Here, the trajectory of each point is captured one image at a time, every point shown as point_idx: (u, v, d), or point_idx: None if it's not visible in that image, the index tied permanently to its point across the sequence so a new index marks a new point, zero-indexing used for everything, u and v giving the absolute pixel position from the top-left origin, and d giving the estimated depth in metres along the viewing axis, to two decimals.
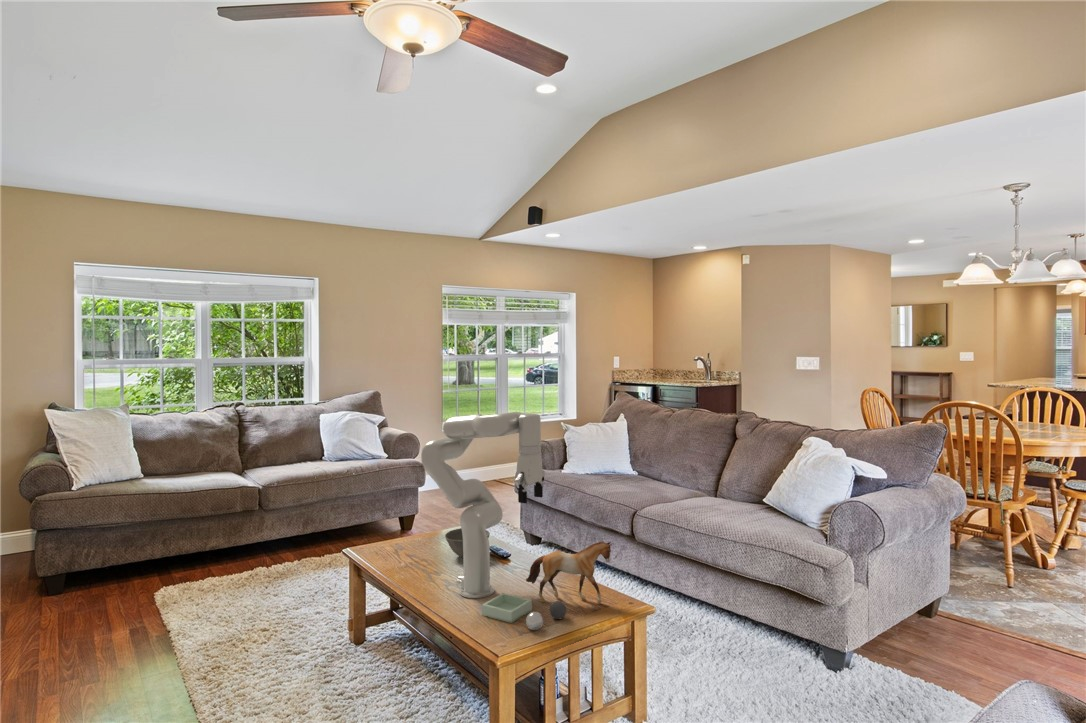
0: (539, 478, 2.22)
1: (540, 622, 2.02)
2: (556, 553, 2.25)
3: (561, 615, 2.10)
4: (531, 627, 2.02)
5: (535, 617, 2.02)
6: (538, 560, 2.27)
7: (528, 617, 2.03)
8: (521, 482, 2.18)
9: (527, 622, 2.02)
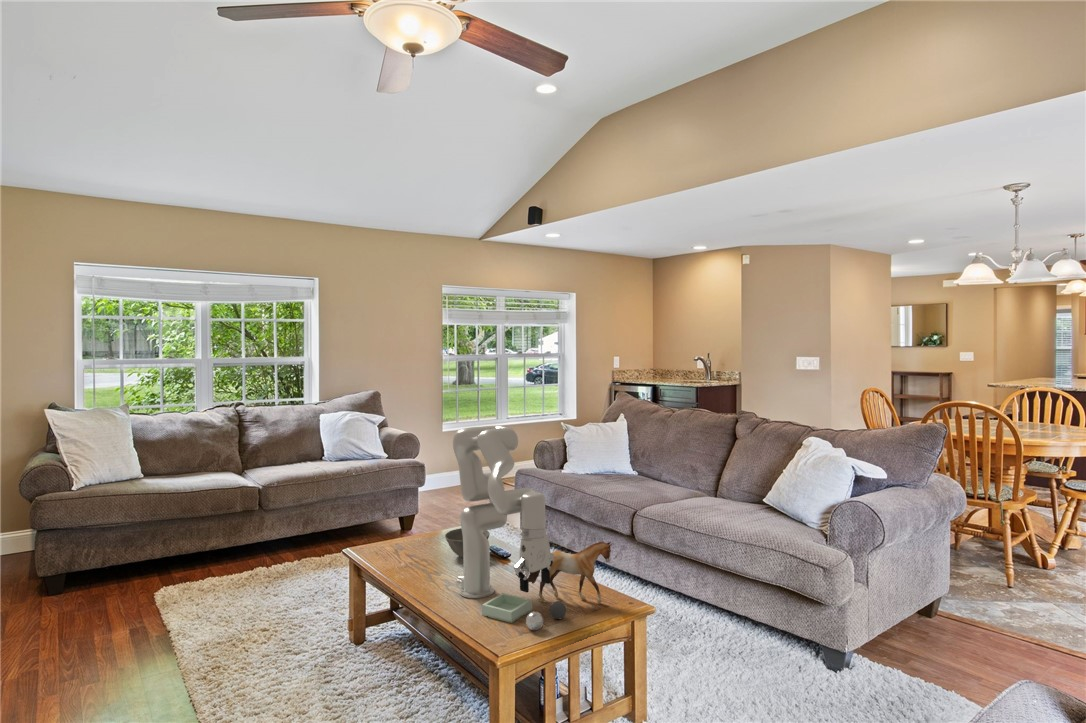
0: None
1: (540, 622, 2.02)
2: (556, 553, 2.25)
3: (561, 615, 2.10)
4: (531, 627, 2.02)
5: (535, 617, 2.02)
6: None
7: (528, 617, 2.03)
8: None
9: (527, 622, 2.02)
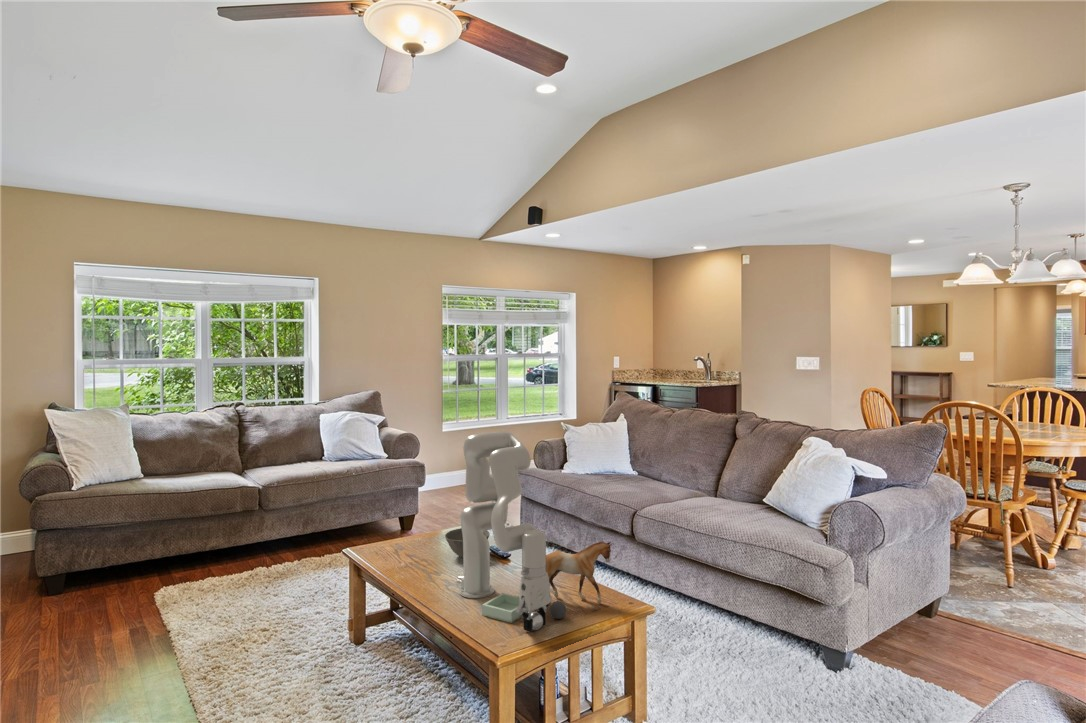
0: None
1: (540, 623, 2.02)
2: (556, 553, 2.25)
3: (561, 615, 2.10)
4: None
5: (535, 617, 2.02)
6: None
7: None
8: None
9: None
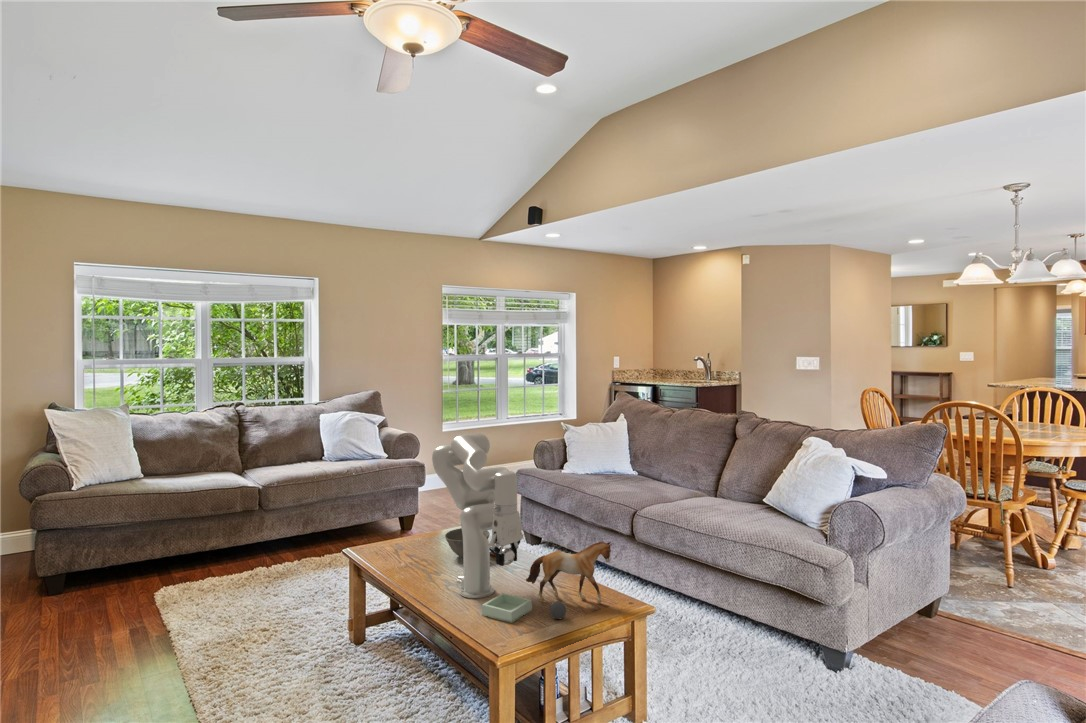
0: None
1: (511, 557, 2.15)
2: (556, 553, 2.25)
3: (561, 615, 2.10)
4: None
5: (507, 552, 2.15)
6: (538, 560, 2.27)
7: None
8: None
9: None
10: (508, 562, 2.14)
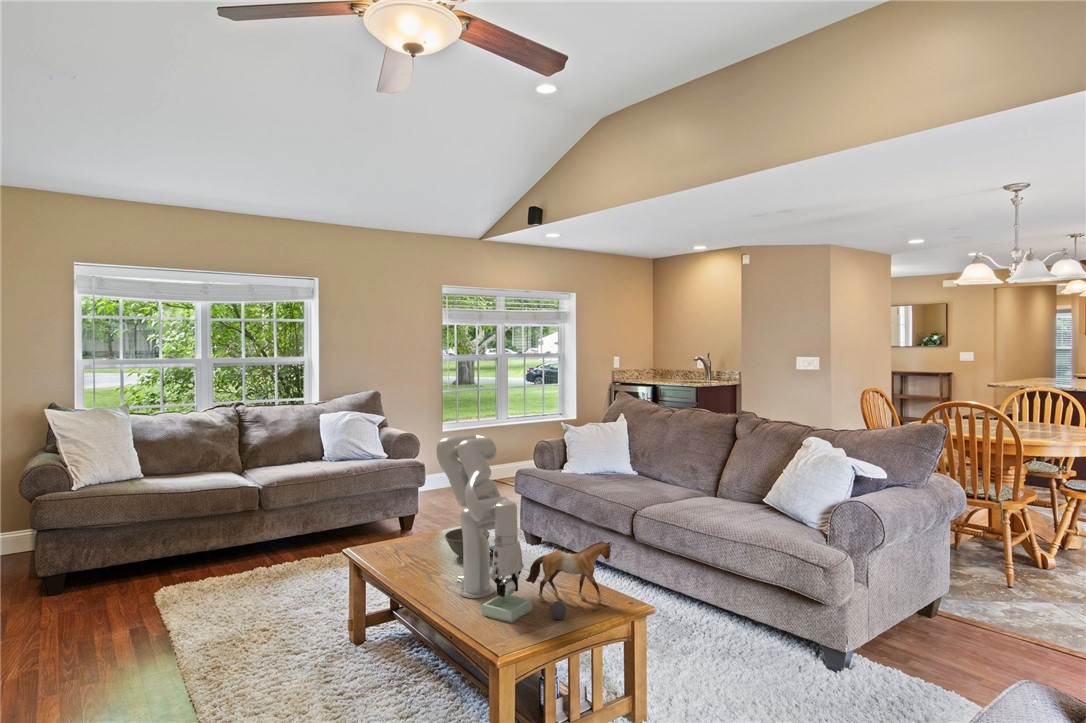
0: None
1: (512, 588, 2.15)
2: (556, 553, 2.25)
3: (561, 615, 2.10)
4: None
5: (507, 583, 2.14)
6: (538, 560, 2.27)
7: None
8: None
9: None
10: (509, 593, 2.14)
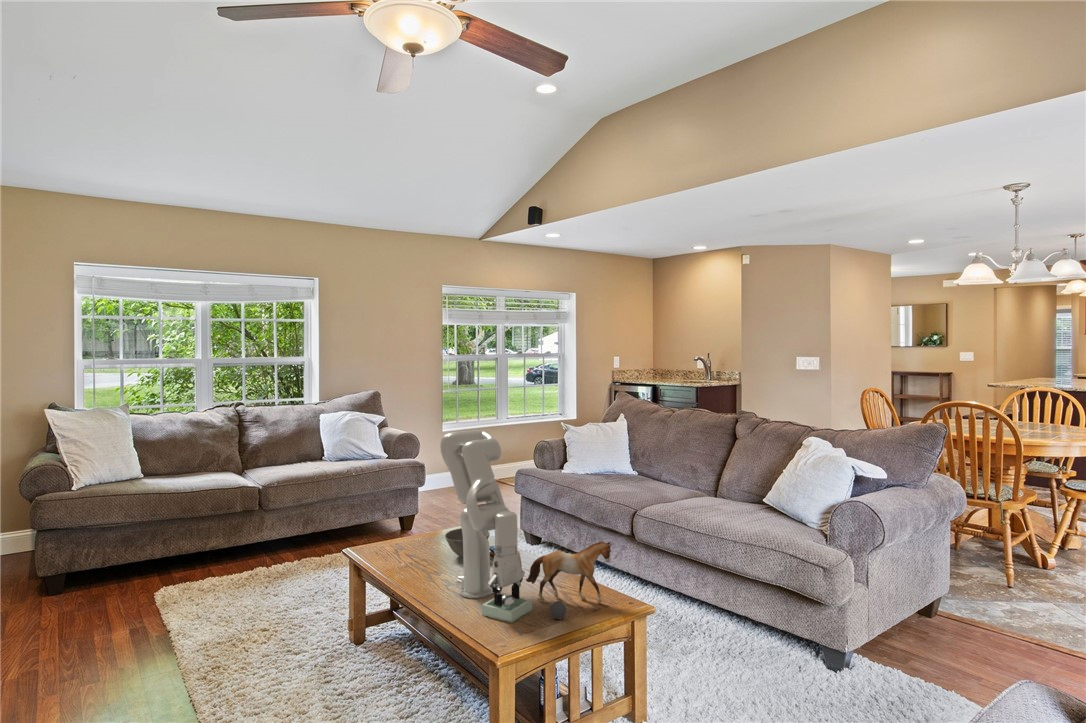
0: None
1: (512, 604, 2.15)
2: (556, 553, 2.25)
3: (561, 615, 2.10)
4: (503, 608, 2.15)
5: (507, 599, 2.15)
6: (538, 560, 2.27)
7: None
8: None
9: None
10: (508, 609, 2.15)
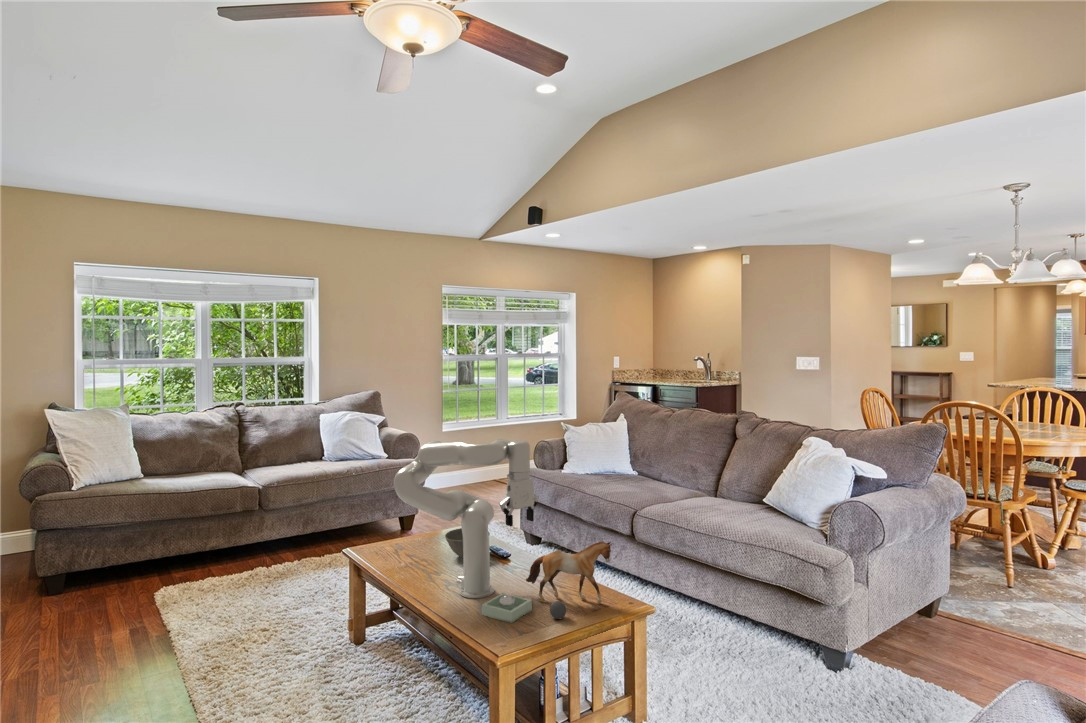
0: None
1: (512, 604, 2.15)
2: (556, 553, 2.25)
3: (561, 615, 2.10)
4: (503, 608, 2.15)
5: (508, 599, 2.15)
6: (538, 560, 2.27)
7: (501, 599, 2.16)
8: None
9: (500, 603, 2.15)
10: (509, 609, 2.15)
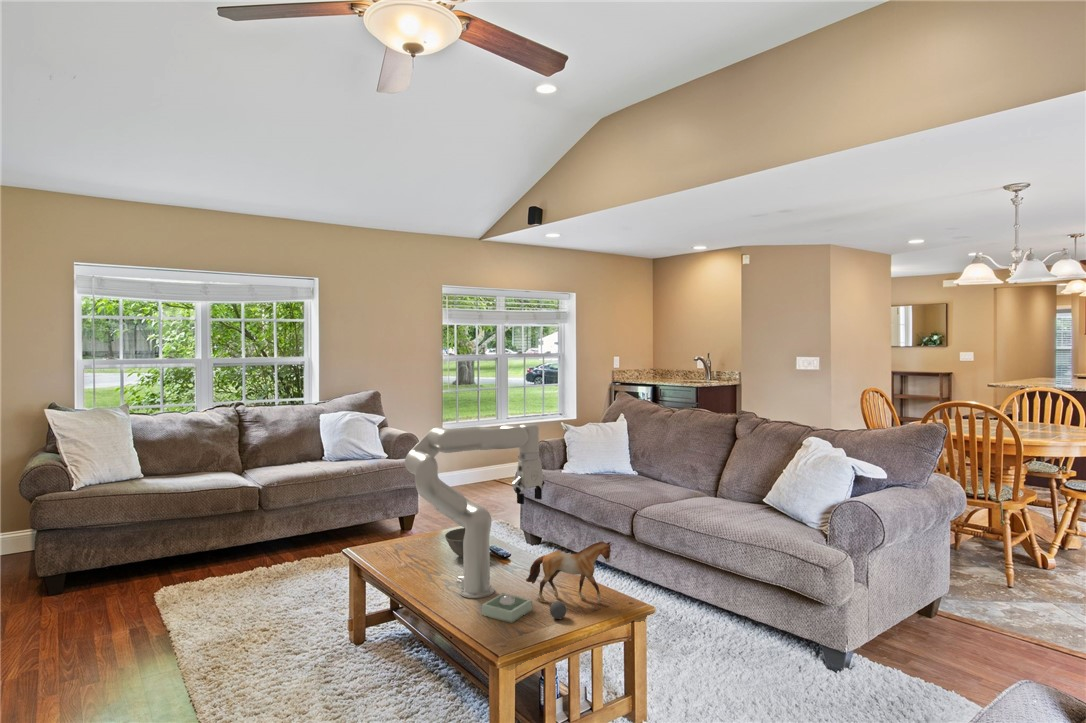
0: None
1: (512, 604, 2.15)
2: (556, 553, 2.25)
3: (561, 615, 2.10)
4: (504, 608, 2.15)
5: (508, 599, 2.15)
6: (538, 560, 2.27)
7: (501, 599, 2.16)
8: None
9: (500, 603, 2.15)
10: (509, 609, 2.15)
